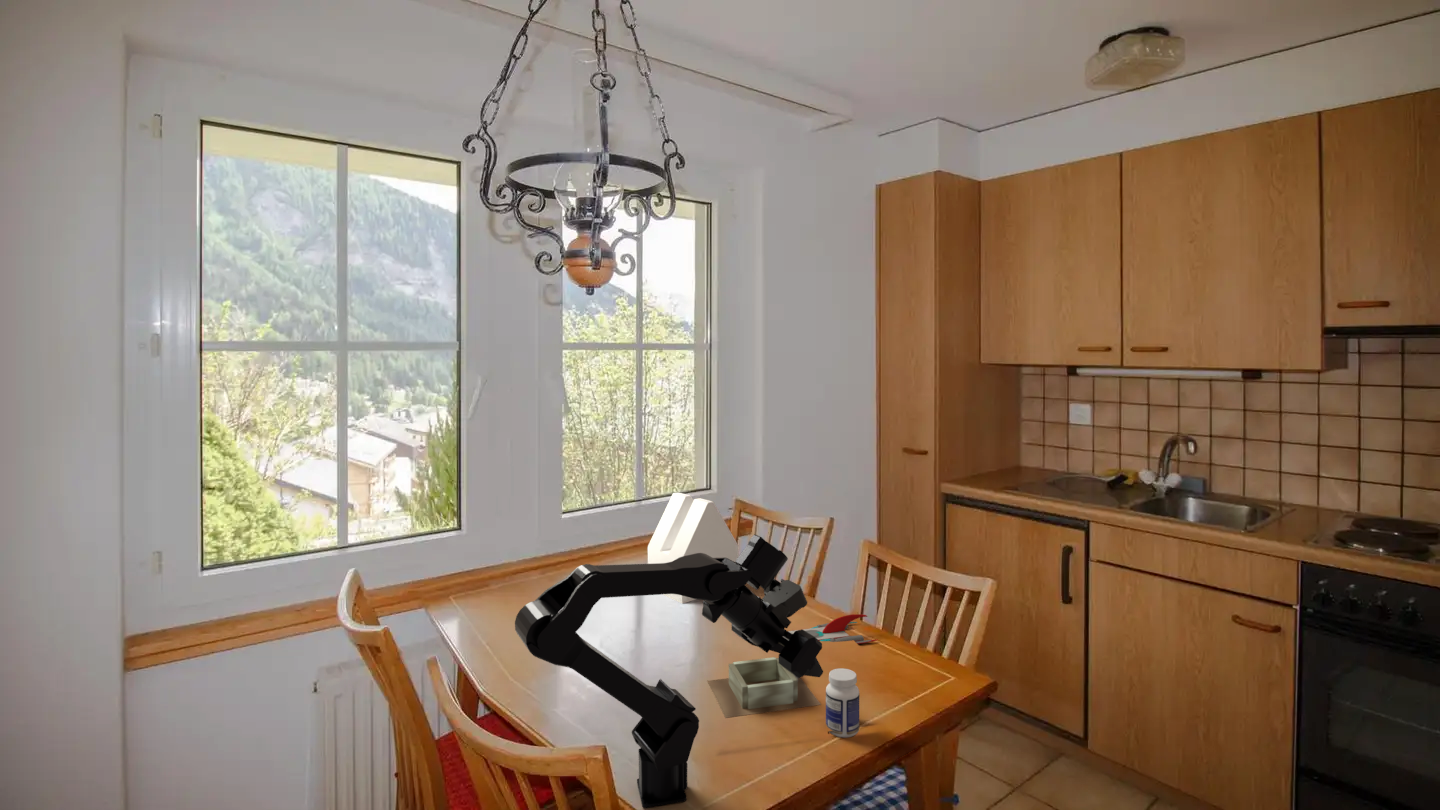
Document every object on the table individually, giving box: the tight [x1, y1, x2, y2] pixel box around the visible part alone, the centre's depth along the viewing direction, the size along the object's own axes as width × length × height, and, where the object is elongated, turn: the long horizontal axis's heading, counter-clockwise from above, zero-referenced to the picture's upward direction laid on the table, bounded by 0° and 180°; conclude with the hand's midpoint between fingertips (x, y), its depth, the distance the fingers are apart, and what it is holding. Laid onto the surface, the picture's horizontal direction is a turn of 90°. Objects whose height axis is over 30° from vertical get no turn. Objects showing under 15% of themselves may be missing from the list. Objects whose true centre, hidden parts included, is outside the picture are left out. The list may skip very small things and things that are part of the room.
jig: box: [706, 656, 822, 719], centre depth 133 cm, size 18×14×5 cm
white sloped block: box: [647, 492, 739, 604], centre depth 192 cm, size 19×15×25 cm
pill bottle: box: [825, 668, 860, 738], centre depth 121 cm, size 6×6×10 cm
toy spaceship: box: [783, 613, 879, 645], centre depth 158 cm, size 27×11×5 cm, turn 109°
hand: (804, 662), depth 117 cm, fingers open, 9 cm apart
